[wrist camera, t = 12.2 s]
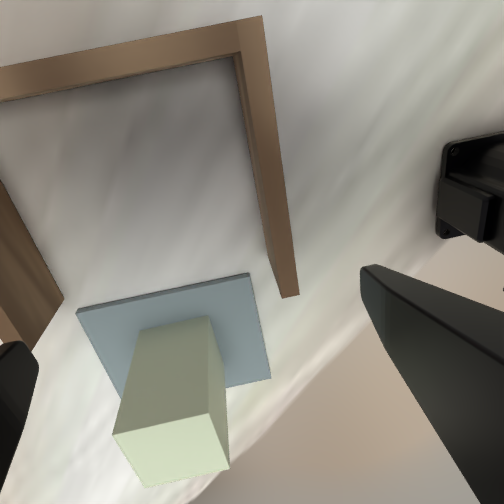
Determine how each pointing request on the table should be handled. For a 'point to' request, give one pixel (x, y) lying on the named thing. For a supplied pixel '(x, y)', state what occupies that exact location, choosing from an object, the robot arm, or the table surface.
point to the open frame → (126, 65)
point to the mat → (176, 310)
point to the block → (174, 404)
